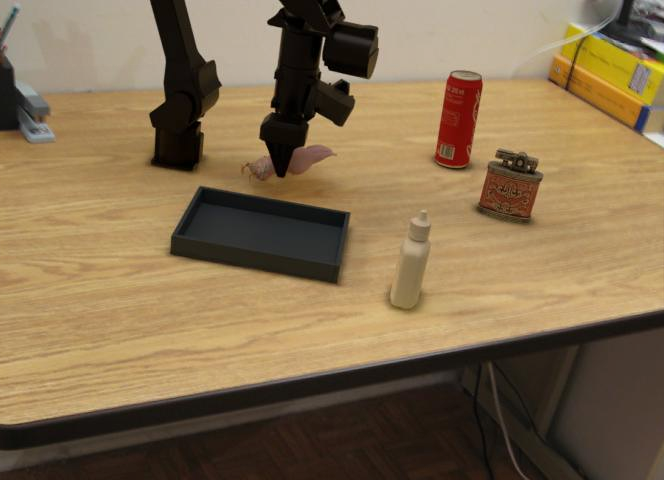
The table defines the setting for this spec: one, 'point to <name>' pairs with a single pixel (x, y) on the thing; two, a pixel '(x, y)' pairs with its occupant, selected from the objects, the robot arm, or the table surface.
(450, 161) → the beverage can
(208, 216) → the desk tray
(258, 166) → the rabbit figure
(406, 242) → the eye dropper bottle
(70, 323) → the table surface
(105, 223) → the table surface
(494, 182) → the lighter
